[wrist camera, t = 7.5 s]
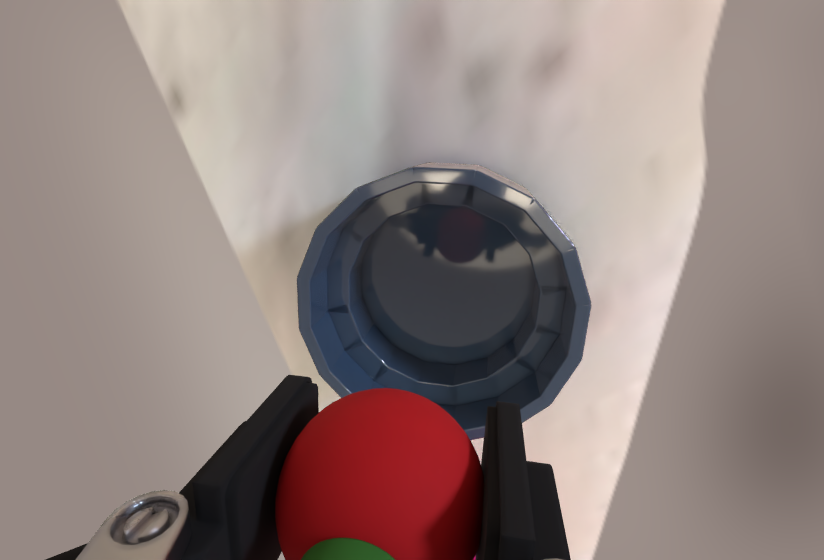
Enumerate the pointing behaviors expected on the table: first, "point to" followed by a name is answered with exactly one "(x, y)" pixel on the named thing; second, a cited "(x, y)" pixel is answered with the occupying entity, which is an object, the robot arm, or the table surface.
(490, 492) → the robot arm
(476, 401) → the bowl
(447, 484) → the strawberry
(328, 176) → the table surface
